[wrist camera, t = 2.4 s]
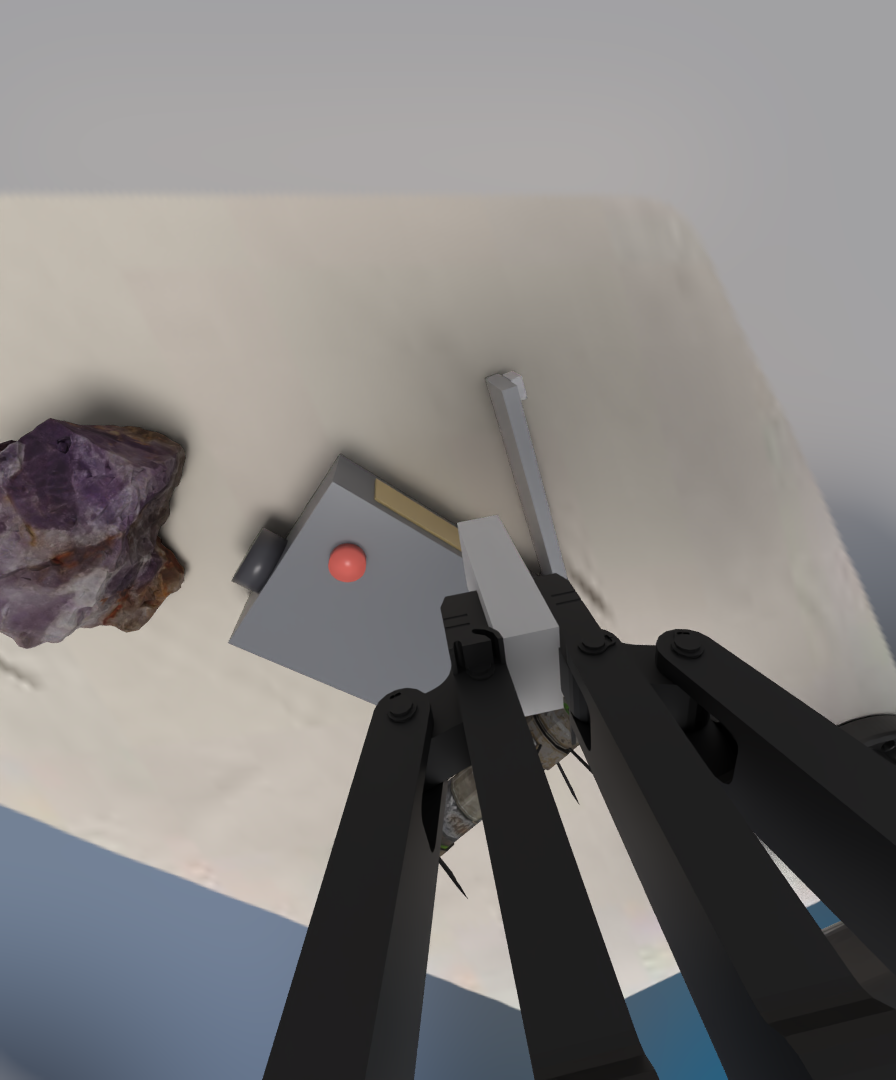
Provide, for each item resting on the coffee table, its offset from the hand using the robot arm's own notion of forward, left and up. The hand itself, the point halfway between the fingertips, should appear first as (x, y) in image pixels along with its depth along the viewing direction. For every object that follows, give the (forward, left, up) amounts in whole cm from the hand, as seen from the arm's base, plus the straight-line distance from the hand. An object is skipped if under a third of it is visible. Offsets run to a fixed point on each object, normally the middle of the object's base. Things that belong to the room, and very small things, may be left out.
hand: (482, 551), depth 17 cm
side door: (-6, -1, -13) cm, 15 cm away
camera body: (-4, +10, -14) cm, 17 cm away
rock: (+14, +14, -14) cm, 24 cm away
